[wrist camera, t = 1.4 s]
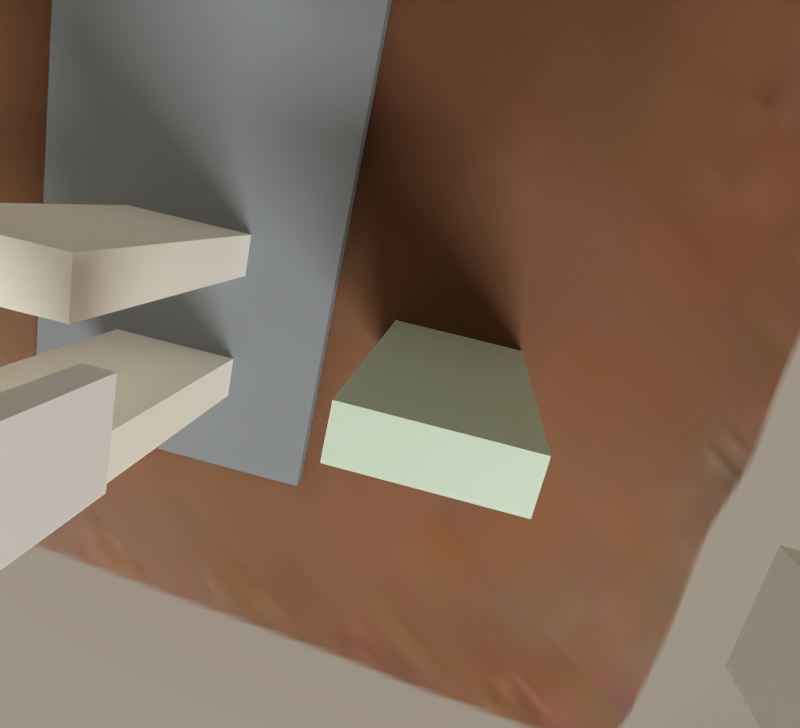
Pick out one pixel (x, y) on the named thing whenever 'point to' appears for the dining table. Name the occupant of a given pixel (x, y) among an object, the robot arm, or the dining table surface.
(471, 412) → the sage domino
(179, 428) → the domino
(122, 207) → the domino
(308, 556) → the dining table surface
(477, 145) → the dining table surface
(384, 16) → the slate mat
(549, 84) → the dining table surface
